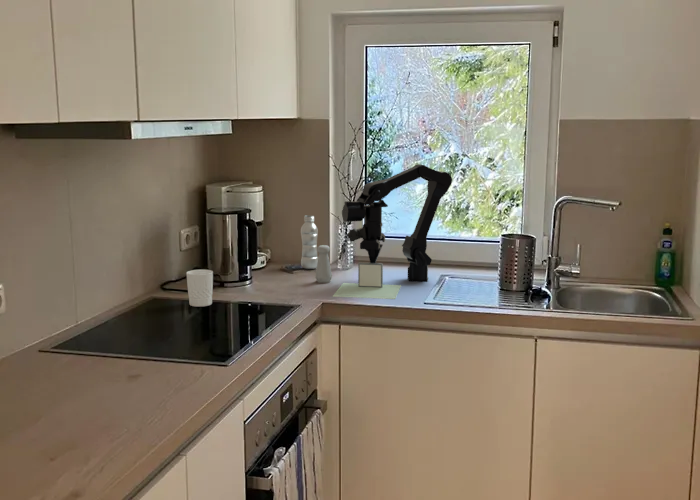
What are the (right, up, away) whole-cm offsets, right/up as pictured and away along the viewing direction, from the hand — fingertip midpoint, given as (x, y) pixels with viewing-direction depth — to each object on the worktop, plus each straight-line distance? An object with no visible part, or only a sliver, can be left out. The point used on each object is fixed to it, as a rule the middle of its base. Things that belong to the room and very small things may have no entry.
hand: (372, 265), depth 256 cm
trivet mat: (-2, -8, -10) cm, 13 cm away
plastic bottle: (-23, -2, +27) cm, 36 cm away
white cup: (-53, -11, -26) cm, 61 cm away
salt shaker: (-17, -6, +4) cm, 18 cm away
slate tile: (-1, -7, -4) cm, 8 cm away
